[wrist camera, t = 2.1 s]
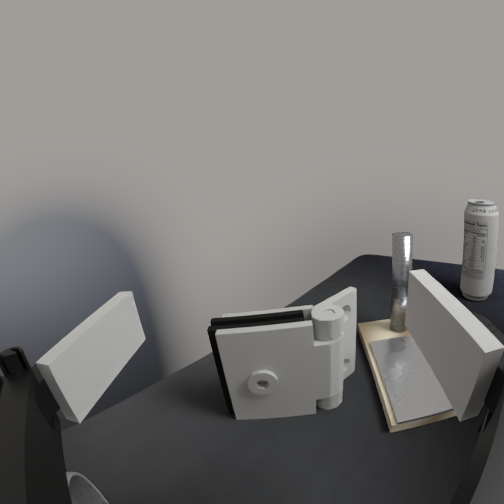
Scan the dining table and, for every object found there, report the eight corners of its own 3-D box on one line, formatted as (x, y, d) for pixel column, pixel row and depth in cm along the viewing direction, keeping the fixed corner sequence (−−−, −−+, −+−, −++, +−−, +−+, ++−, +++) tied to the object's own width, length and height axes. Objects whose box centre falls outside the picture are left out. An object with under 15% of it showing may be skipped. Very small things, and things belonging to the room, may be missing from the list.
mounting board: (424, 319, 35) (425, 313, 35) (483, 406, 18) (486, 398, 18) (357, 329, 37) (357, 323, 37) (390, 432, 20) (391, 425, 20)
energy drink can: (497, 297, 35) (506, 203, 31) (473, 305, 35) (481, 205, 31) (476, 284, 41) (482, 197, 37) (452, 290, 41) (457, 199, 37)
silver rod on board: (425, 318, 34) (431, 229, 31) (482, 400, 18) (517, 279, 15) (363, 327, 35) (362, 235, 32) (397, 424, 20) (419, 298, 16)
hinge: (351, 367, 30) (353, 285, 27) (373, 396, 25) (382, 308, 22) (226, 398, 28) (206, 315, 26) (232, 435, 23) (208, 349, 20)
